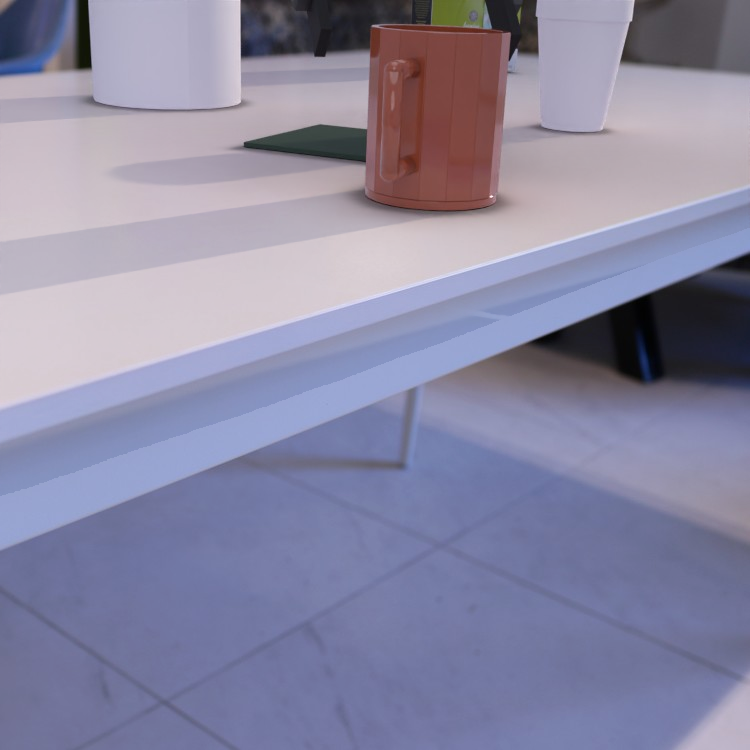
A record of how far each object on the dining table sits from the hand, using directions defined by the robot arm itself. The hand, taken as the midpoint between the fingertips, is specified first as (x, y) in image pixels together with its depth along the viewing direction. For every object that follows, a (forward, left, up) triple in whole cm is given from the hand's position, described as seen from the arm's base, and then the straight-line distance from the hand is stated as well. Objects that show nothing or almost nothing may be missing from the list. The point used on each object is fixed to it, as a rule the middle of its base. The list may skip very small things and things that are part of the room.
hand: (419, 46), depth 72 cm
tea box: (+31, -96, -10) cm, 101 cm away
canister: (+41, -29, -10) cm, 51 cm away
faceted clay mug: (-3, +5, -10) cm, 11 cm away
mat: (+11, -14, -10) cm, 20 cm away
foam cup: (-2, -39, -10) cm, 40 cm away
